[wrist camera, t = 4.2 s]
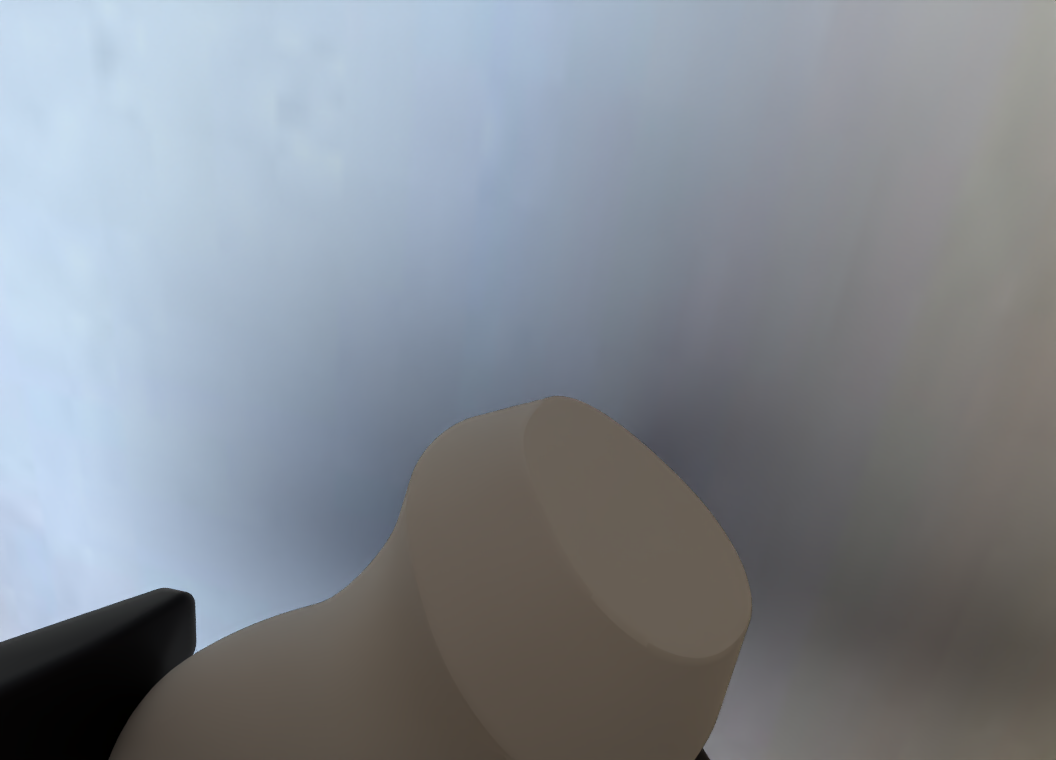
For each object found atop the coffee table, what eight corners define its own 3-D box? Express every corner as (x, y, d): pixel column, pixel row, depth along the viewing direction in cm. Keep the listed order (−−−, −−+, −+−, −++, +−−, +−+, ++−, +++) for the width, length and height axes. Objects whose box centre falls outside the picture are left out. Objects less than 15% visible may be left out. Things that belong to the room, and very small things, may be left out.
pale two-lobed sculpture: (405, 756, 10) (159, 625, 9) (764, 526, 8) (528, 283, 6) (345, 1140, 7) (-123, 1043, 5) (998, 906, 4) (563, 557, 2)
